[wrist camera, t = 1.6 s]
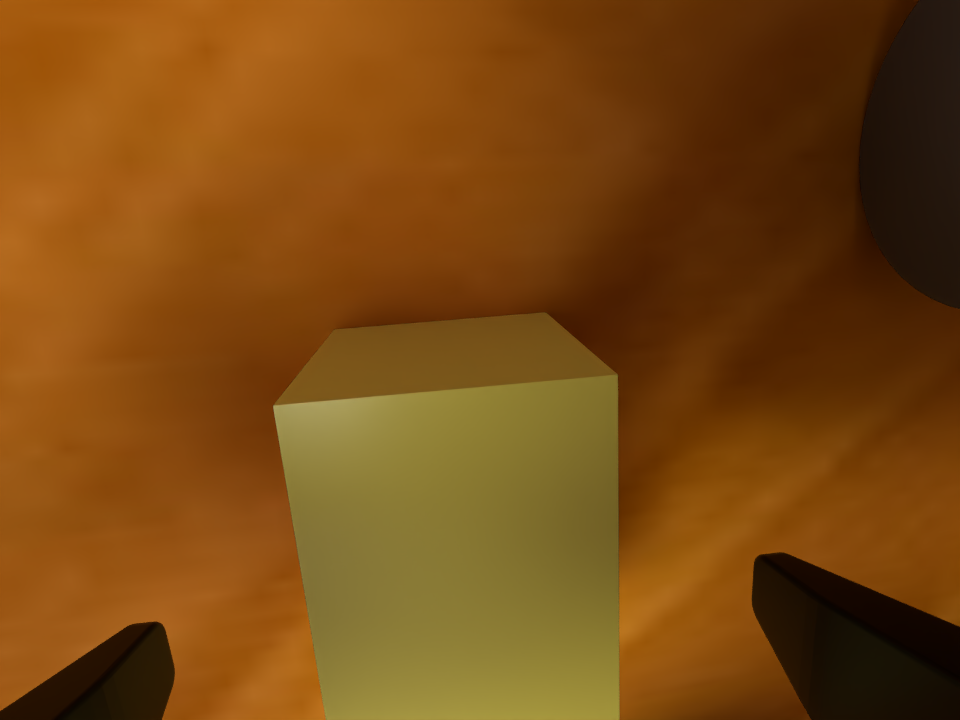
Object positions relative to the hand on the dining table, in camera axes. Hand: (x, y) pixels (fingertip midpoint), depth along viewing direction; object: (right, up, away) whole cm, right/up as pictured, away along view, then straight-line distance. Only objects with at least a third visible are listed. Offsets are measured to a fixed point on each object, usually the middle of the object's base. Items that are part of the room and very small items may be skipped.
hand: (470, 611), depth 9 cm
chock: (0, +1, +4) cm, 5 cm away
